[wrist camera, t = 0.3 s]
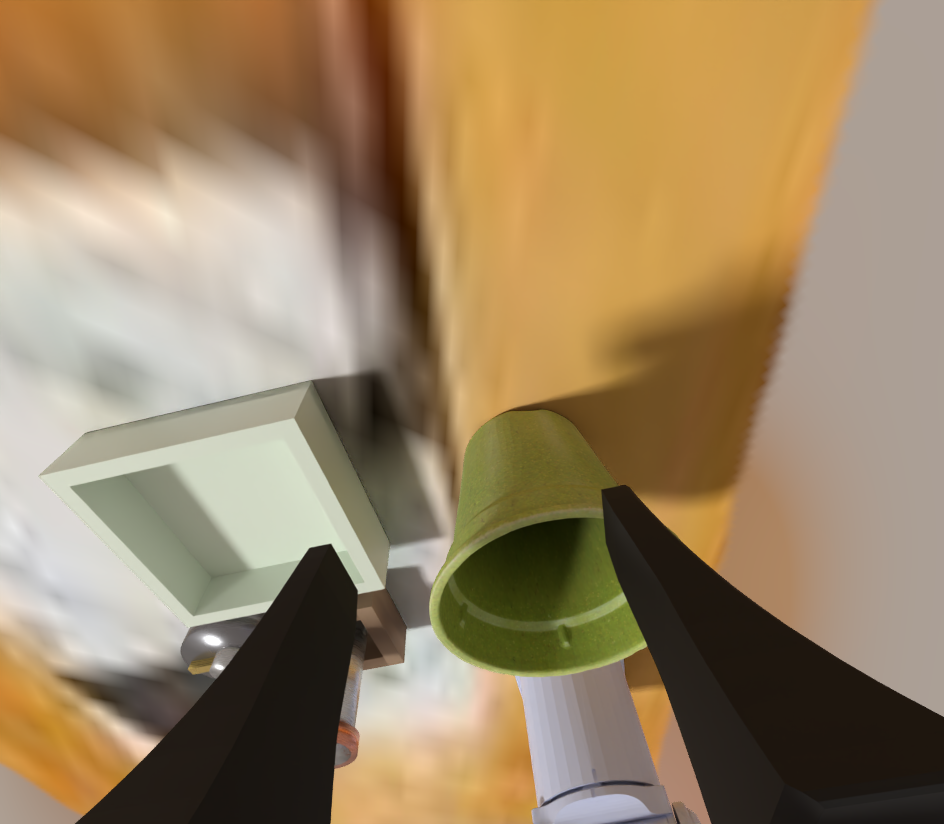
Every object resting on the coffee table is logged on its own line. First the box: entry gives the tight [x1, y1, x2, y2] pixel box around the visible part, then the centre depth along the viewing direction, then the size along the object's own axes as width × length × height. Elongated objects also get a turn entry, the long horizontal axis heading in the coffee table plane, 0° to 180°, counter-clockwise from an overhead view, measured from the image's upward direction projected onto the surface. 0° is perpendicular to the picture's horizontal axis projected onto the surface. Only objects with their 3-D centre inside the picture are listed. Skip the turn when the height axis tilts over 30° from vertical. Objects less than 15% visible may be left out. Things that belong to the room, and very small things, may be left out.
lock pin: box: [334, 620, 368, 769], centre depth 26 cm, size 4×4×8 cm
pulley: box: [181, 612, 266, 679], centre depth 29 cm, size 6×6×3 cm
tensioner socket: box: [356, 588, 406, 670], centre depth 29 cm, size 6×6×2 cm
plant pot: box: [429, 409, 681, 677], centre depth 20 cm, size 9×9×9 cm
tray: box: [38, 381, 390, 628], centre depth 23 cm, size 11×11×3 cm
